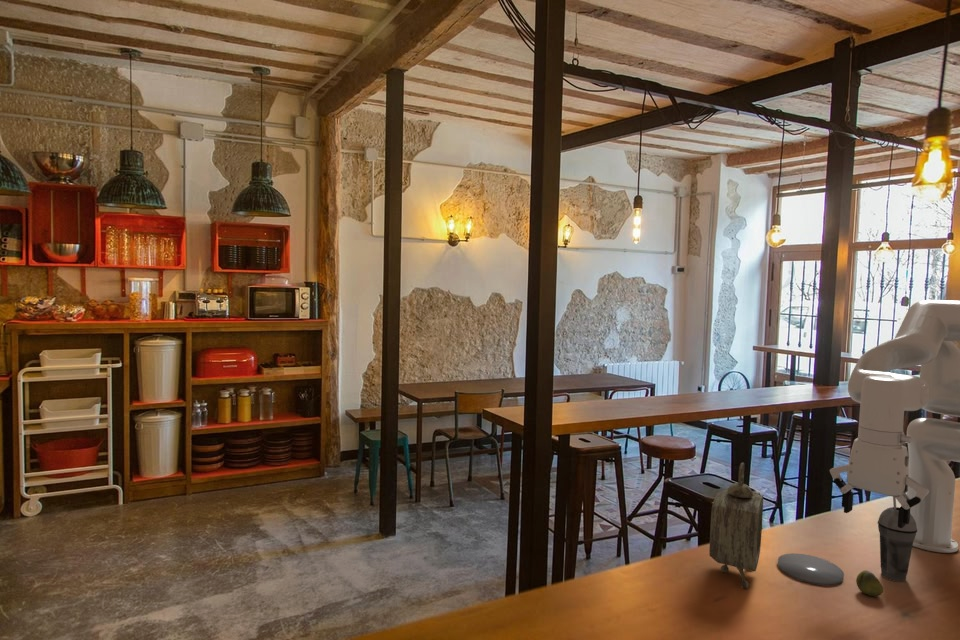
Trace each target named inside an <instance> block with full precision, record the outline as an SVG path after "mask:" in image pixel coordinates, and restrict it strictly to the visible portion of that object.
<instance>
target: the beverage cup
mask: <svg viewBox="0 0 960 640" xmlns="http://www.w3.org/2000/svg"><path fill="white" fill-rule="evenodd" d="M892 499H893V500H892V501H893V506H892V507H891V506H890V507H887V508H886V509H884V510H882V511H881V513H880V515H879V517H878V520H877V525H878V526H877V529H878V532H879V533H878V534H879V554H880V555H879V556H880V557H879V558H880V572H881V573H880V575H881V577H883V578H884V579H887V580H889V581H893V582H895V583H896V582H897V583H905V582H906V581H907V580H906V579H907V575H908V572H909V566H910V562H911V556H912V551H913V550H912V549H913V546H912V545H913V540H914V539H915V536H916V532H917V525H916V522H915V519H914V518H913V516H912V515H911V514H910V521H909V524H906V525H905V526H904V527H903V528H899V527H898V514H899V508H900V507H897V499H896V498H895V497H892Z"/></svg>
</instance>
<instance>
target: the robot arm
mask: <svg viewBox="0 0 960 640" xmlns="http://www.w3.org/2000/svg"><path fill="white" fill-rule="evenodd" d="M955 342H957V343H960V300H947V299H946V300H945V299H943V300H942V299H925V300H919V301H917V302H915V303H913V304H912V305H910V307H909V308H908V310H907V313H906V314H905V316H904V318H903V321H902V323H901V324H900V327H899V329H898V330H897V333H896V334H895V337H894V338H892V339H889V340H887V341H884V342H883V343H880V344H878V345H876V346H874V347H873V348H871V349H869V350H867V351H866V352H864V353H863V354H862V355H861V356H860V357H859V358H858V360H857V362H856V364H855V366H854V368H853V370H852V371H851V374H850V376H849V380H848V383H847V391H848V392H847V393H848V396H849V397H850V398H851V399H852V401H854V402H855V403H858V404H859V406H860V407H859V418H858V419H859V420H858V431H857V432H858V433H857V434H858V435H857V438H855V439H854V440H853V443H852V447H851V450H850V454H849V460H848V463H847V464H845V465H841V466H840V465H839V466H835V467H832V468H830V469H829V473H830V476H831V477H832V480H833V483H834V484H835V485H836V486H837V487H838V489H839V491H840V492H841V493H842V494H841V496H842V497H841V507H842V508H843V514H848V513H850V512H852V511H853V508H854V507H853V505H854V503H853V502H854V492H853V491H852V490H853V489H854V488H855V489H859V490H862V491H863V490H864V491H867V492H871V493H875V494H880V495H883V496H888V497H892V498H893V497H895V498H896V501H897V502H898V503H899V504H900V505H901V506H900V507H898V508H899V514H898V527H899V528H903V527H904V526H905V525H906V524H909V521H910V514H911V515H912V516H913V518H914V519H915V522H916V525H917V532H916V536H915V539H914V540H913V545H912V547H914V548H918V549H920V550H924V551H928V552H934V553H941V554H942V553H943V554H951V553H956V552H958V551H959V543H958V542H957V541H956V540H954V539H953V538H952V531H953V519H954V518H953V516H954V507H955V506H954V503H955V491H956V477H955V474H954V471H953V470H952V468H951V466H949V464H948V462H947V461H951V462H957V463H960V422H957V421H951V420H945V419H941V418H940V419H939V418H934V417H933V418H931V417H919V418H915V419H913V420H912V421H910V422H909V424H908V425H907V427H906V428H907V429H906V434H905V431H904V425H905V424H904V421H905V412H915V411H918V410H921V409H922V410H924V411H927V412H929V413H934V414H939V415H944V416H950V417H951V416H952V417H957V418H960V349H959V347H958V346H957V345H956V344H955ZM919 366H920V372H919V376H917V375H914V374H913V375H911V374H907V373H906V374H904V373H897V372H890V371H893V370H900V369H908V368H912V367H919ZM903 444H907V446H905V445H903ZM846 472H847V473H846ZM842 473H846V481H844V479H843V477H841V474H842ZM846 482H847V483H846Z"/></svg>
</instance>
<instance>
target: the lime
mask: <svg viewBox="0 0 960 640" xmlns="http://www.w3.org/2000/svg"><path fill="white" fill-rule="evenodd" d="M855 582H856V586H857V588H858V590H859V591H860V592H862V593H863V594H865V595H868V596H870V597H879V596H881V595H882V594H883V593H884V587H883V585H882V583H881V581H880V580H879V579H878V577H877V576H876V575H875V574H874V573H873V572H871V571H869V570H866V569H865V570H862V571H860V573H858V574H857V576H856V580H855Z"/></svg>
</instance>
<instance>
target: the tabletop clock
mask: <svg viewBox="0 0 960 640" xmlns="http://www.w3.org/2000/svg"><path fill="white" fill-rule="evenodd" d="M745 466H746V465H745V463H744V462H741V463H740V465H739V468H738V479H737V480H738V482H734V483H733V484H731V485H730V486H729V487H728V488H727V489H723V490H720V491H718V492H717V494H716V496H715V498H714V500H713V501H712V502H713V503H712V506H711V515H710V527H709V528H710V529H709V530H710V531H709V532H710V533H709V549H708V550H709V552H708V553H709V557H711V558H712V559H713V560H714V561H715V562H717V563H718V564H722V565H721V566H720V570H721V572H722V573H724V574H726V573H727V574H728V572H729V571H730V570H729V567H728V566H730V567H734V568H736V569H737V570H738V573H739V575H740V577H741V582H740V585H741V587H742V588H743V589H749V588H750V583H749V581H748V580H746V577H745V573H744V572H745V571H744V570H747V571H751V572H756V571H757V567H758V565H759V564H758V563H759V559H760V554H761V545H762V544H761V543H762V533H763V532H762V530H763V515H764V513H763V512H764V495H762V494H758V493H757V494H756V493H754V492H753V491H752V489H751V487H750V486H749V485H747V484H746V483H744V482H745V481H744V480H745V478H744V477H745Z"/></svg>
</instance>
